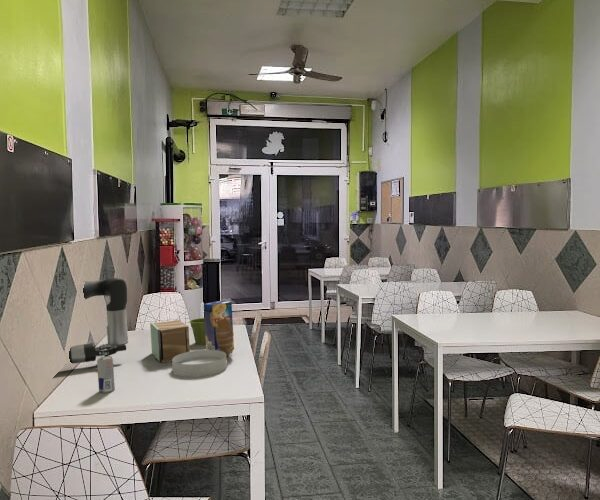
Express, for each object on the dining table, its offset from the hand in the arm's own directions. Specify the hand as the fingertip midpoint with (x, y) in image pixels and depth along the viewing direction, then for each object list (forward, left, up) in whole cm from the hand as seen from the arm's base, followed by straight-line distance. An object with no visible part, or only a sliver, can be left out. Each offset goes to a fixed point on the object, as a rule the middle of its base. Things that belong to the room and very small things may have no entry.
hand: (126, 347), depth 223 cm
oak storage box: (+19, +3, -6) cm, 20 cm away
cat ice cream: (+43, -6, -6) cm, 44 cm away
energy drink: (-1, -39, -6) cm, 40 cm away
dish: (+32, -21, -7) cm, 39 cm away
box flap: (+13, +1, -6) cm, 14 cm away
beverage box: (+41, +6, -6) cm, 42 cm away
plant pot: (+33, +24, -6) cm, 41 cm away
